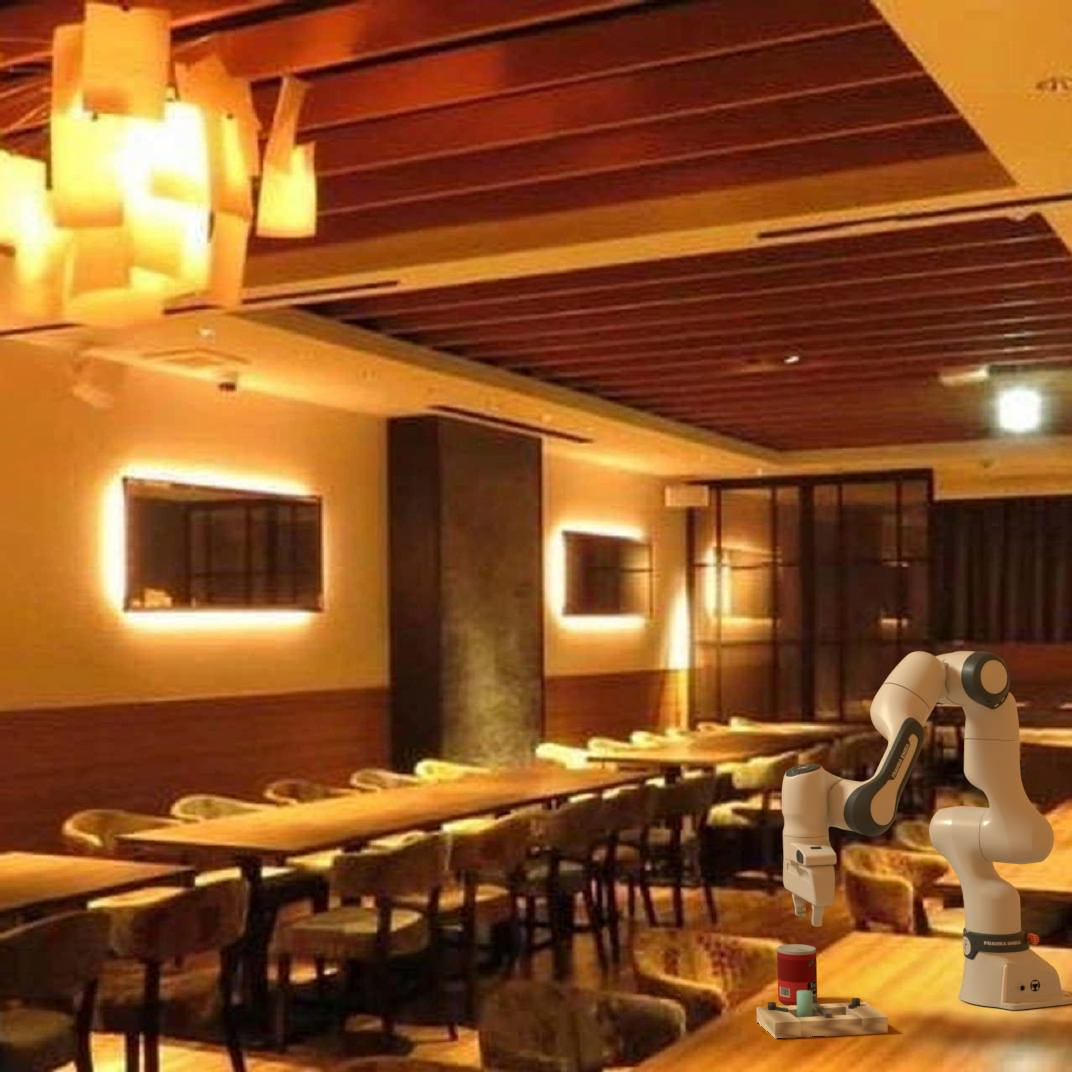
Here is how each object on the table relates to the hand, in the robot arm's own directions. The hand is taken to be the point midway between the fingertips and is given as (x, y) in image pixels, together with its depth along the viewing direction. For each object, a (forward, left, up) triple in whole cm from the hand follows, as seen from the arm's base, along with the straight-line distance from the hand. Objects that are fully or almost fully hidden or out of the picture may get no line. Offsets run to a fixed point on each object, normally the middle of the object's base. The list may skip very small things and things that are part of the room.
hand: (808, 920), depth 302 cm
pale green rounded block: (+2, +3, -20) cm, 20 cm away
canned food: (-3, -18, -20) cm, 27 cm away
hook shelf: (-1, +3, -20) cm, 20 cm away
